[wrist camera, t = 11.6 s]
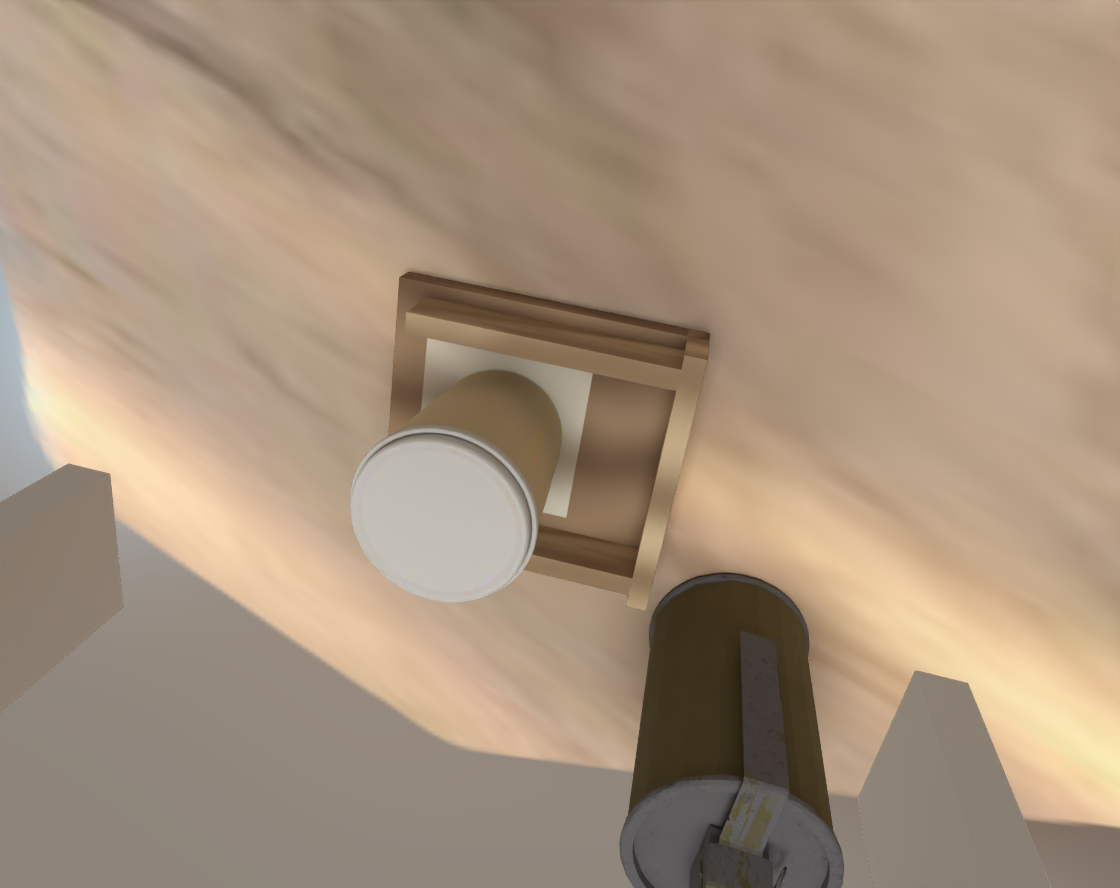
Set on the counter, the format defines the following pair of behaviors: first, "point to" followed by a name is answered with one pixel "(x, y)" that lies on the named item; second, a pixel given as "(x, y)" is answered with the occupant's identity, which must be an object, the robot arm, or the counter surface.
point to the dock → (569, 413)
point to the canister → (729, 747)
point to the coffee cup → (460, 488)
